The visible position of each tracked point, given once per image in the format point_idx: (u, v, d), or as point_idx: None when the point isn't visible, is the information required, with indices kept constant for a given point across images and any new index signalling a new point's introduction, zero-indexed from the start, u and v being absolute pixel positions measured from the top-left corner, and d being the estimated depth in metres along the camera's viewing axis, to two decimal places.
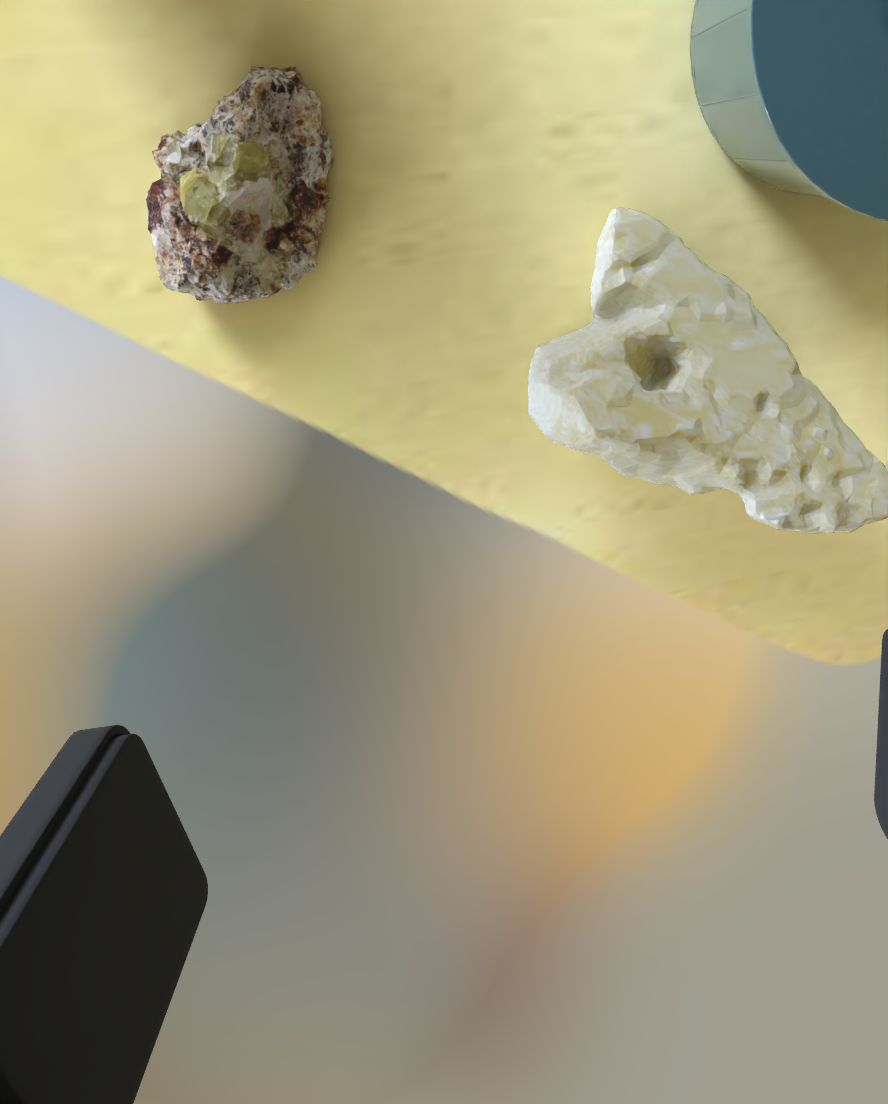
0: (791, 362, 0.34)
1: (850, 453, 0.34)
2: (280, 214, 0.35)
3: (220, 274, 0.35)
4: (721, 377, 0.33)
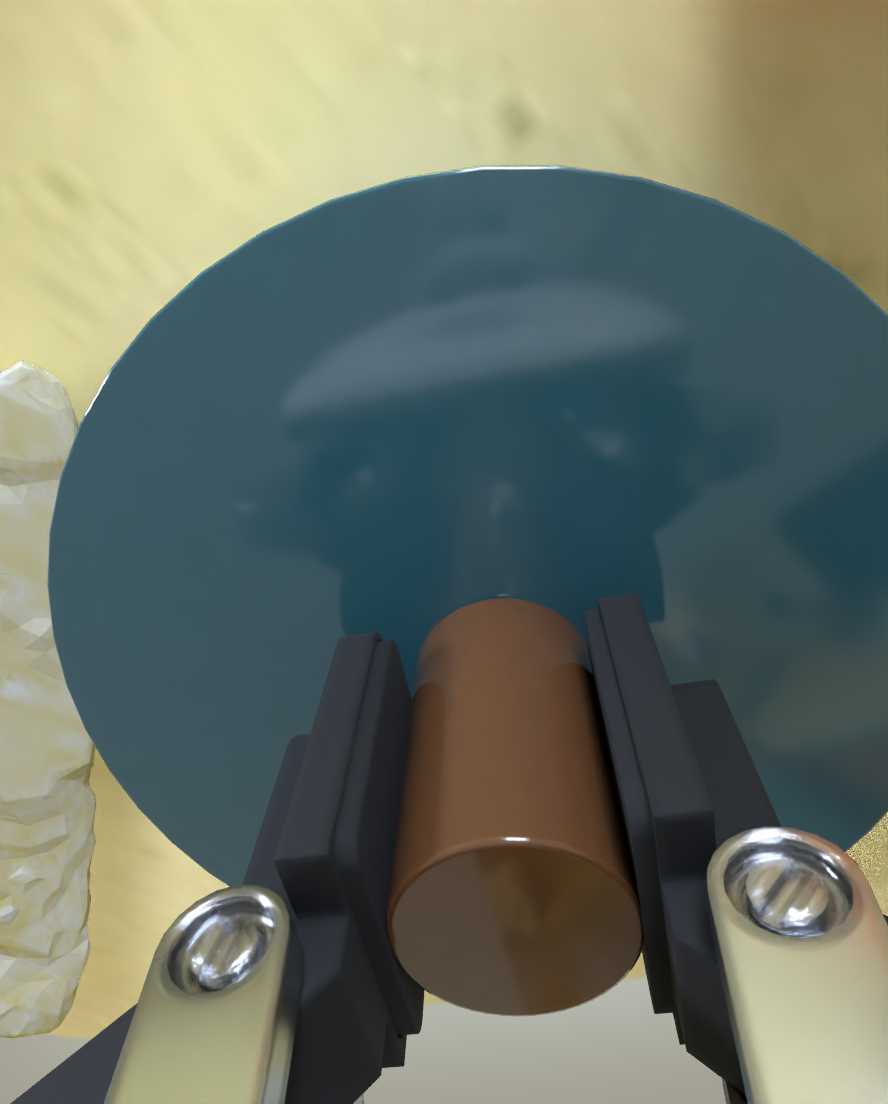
0: (78, 761, 0.21)
1: (46, 926, 0.21)
2: None
3: None
4: None
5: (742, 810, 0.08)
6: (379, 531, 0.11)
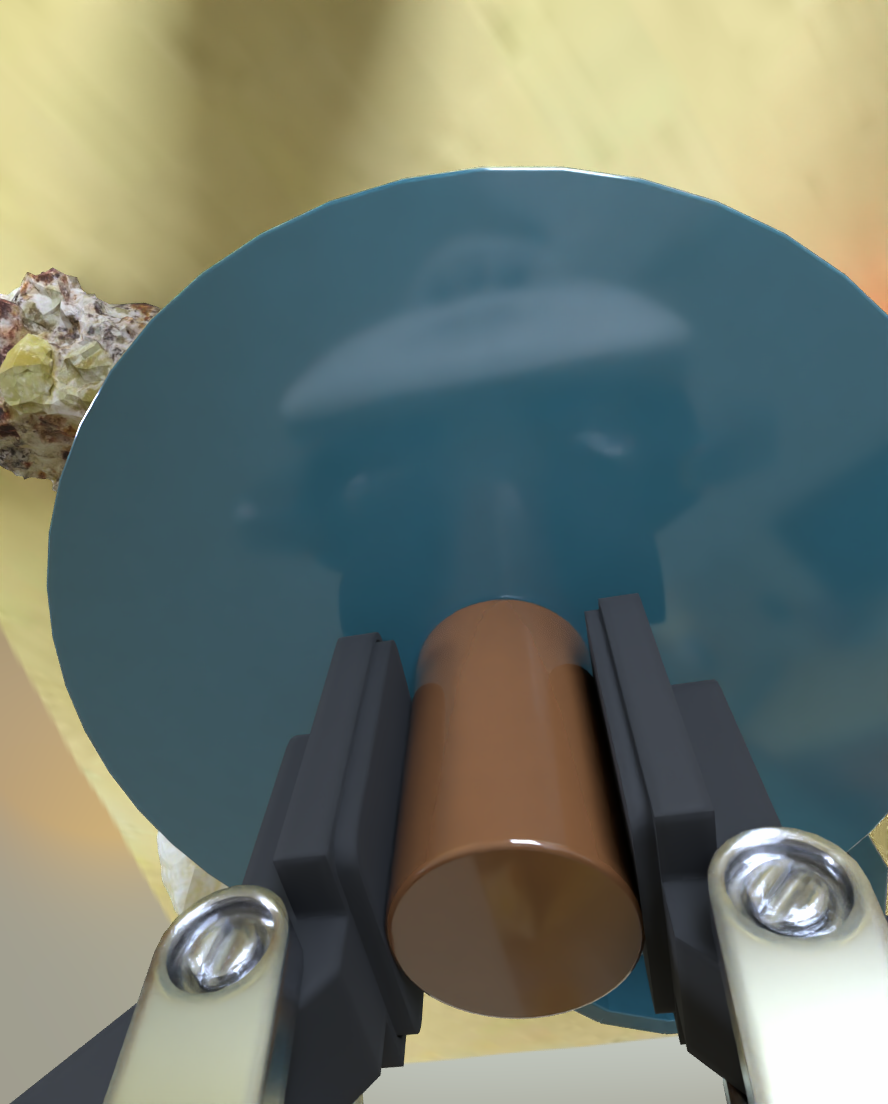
0: None
1: None
2: None
3: None
4: None
5: (743, 810, 0.08)
6: (379, 532, 0.11)
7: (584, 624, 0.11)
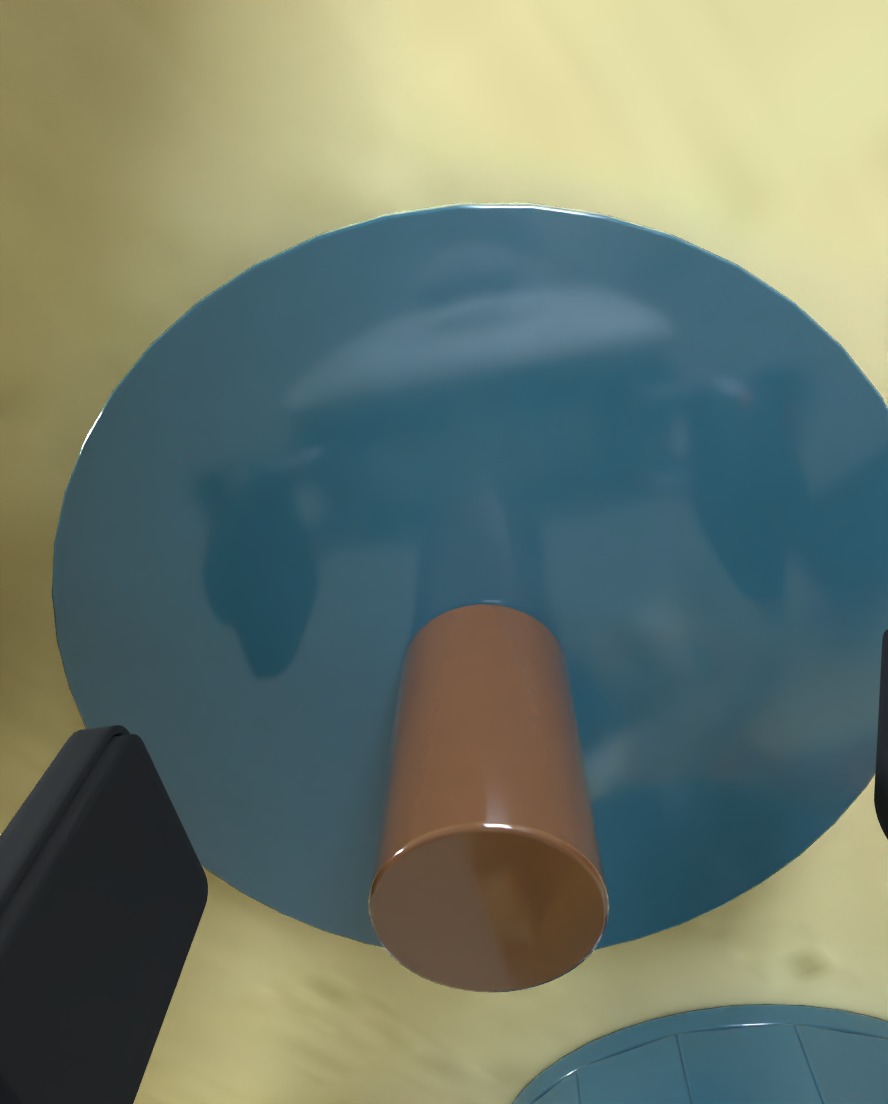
0: None
1: None
2: None
3: None
4: None
5: None
6: (365, 541, 0.12)
7: (559, 627, 0.12)
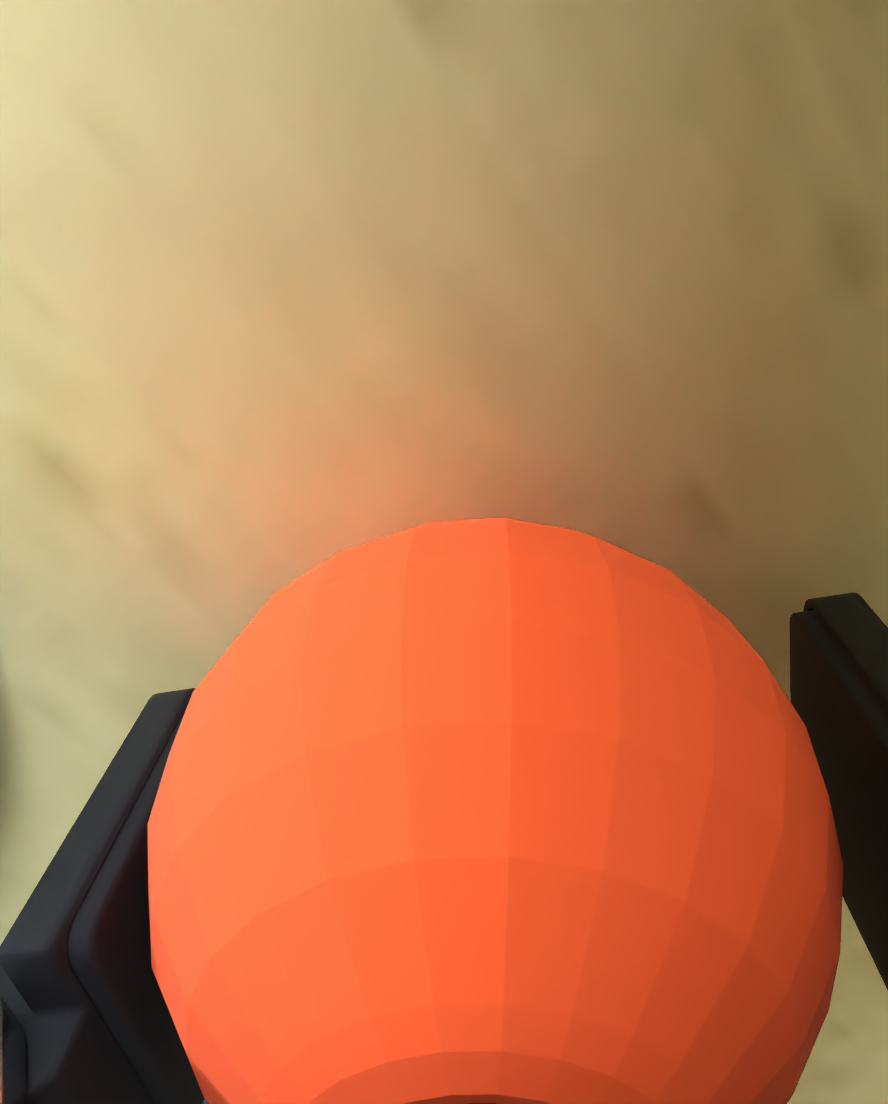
0: None
1: None
2: None
3: None
4: None
5: None
6: None
7: None
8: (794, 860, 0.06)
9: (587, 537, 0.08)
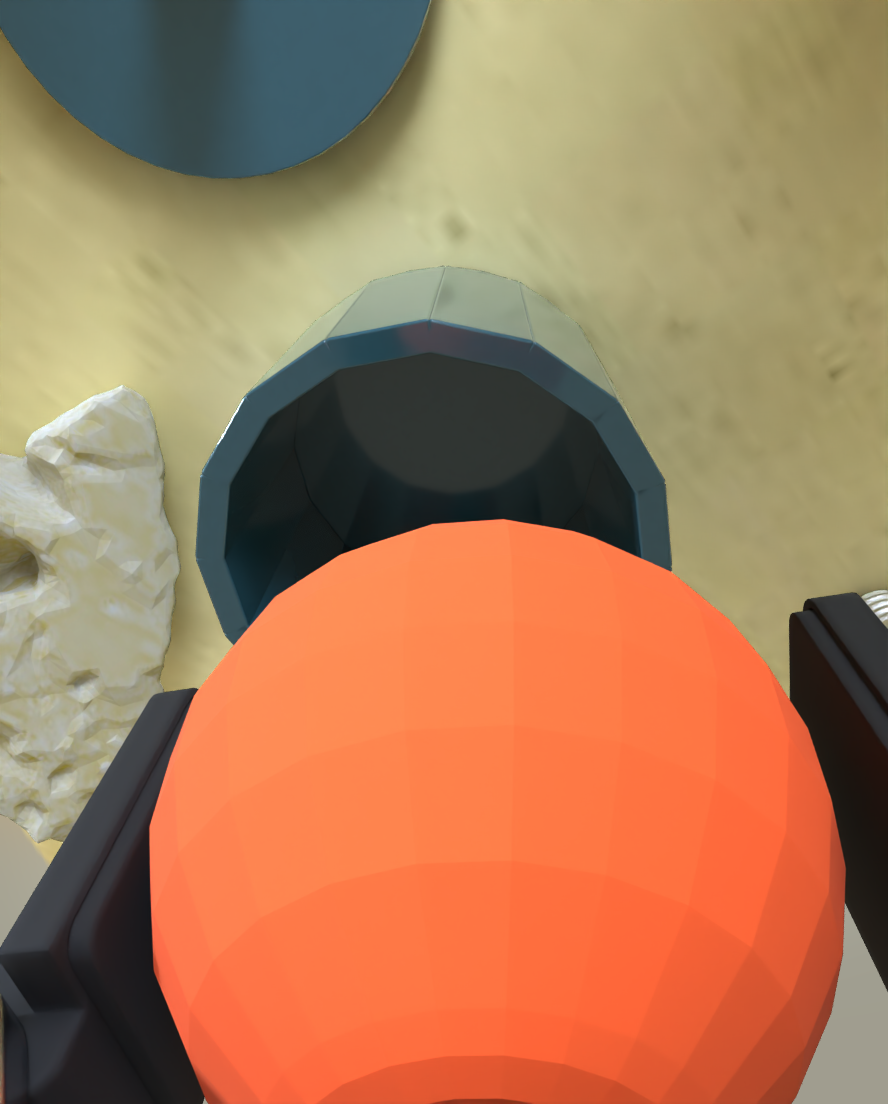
0: (154, 662, 0.29)
1: None
2: None
3: None
4: (59, 630, 0.27)
5: None
6: None
7: None
8: (797, 864, 0.06)
9: (589, 539, 0.08)
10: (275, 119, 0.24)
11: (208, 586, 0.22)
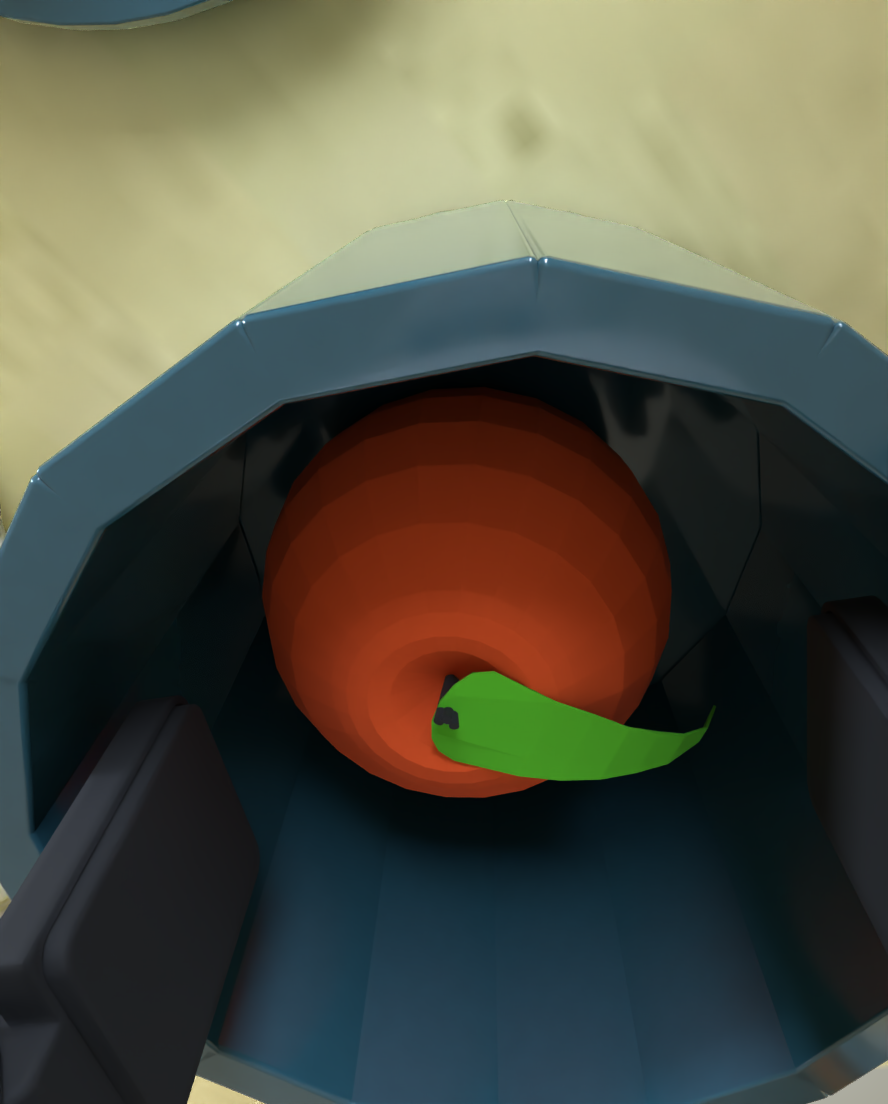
0: (0, 893, 0.17)
1: None
2: None
3: None
4: None
5: None
6: None
7: None
8: (624, 554, 0.11)
9: (532, 398, 0.13)
10: None
11: (6, 884, 0.10)
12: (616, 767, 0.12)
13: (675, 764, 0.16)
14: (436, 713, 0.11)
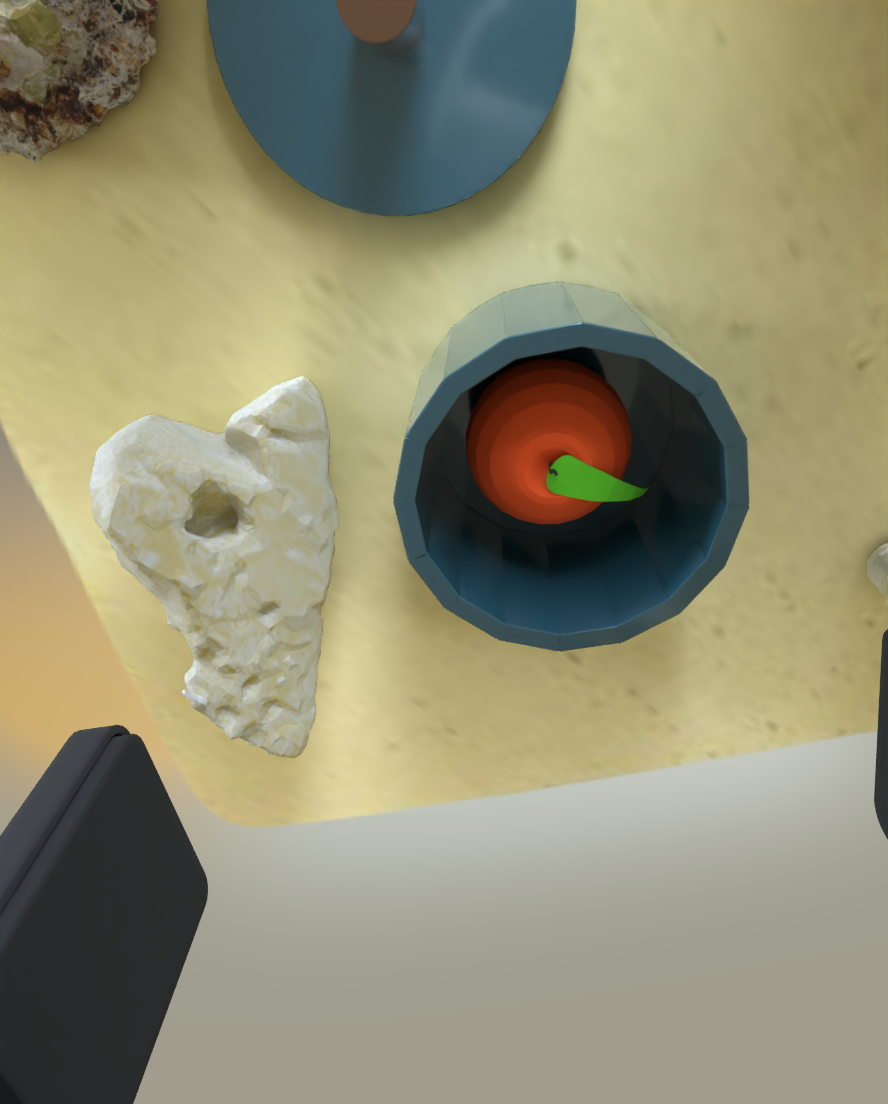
0: (319, 598, 0.37)
1: (298, 693, 0.37)
2: (33, 91, 0.30)
3: None
4: (255, 568, 0.35)
5: None
6: None
7: None
8: (614, 417, 0.31)
9: None
10: (437, 171, 0.32)
11: (400, 522, 0.29)
12: (611, 496, 0.31)
13: (632, 534, 0.36)
14: (549, 470, 0.30)
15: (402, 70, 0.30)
